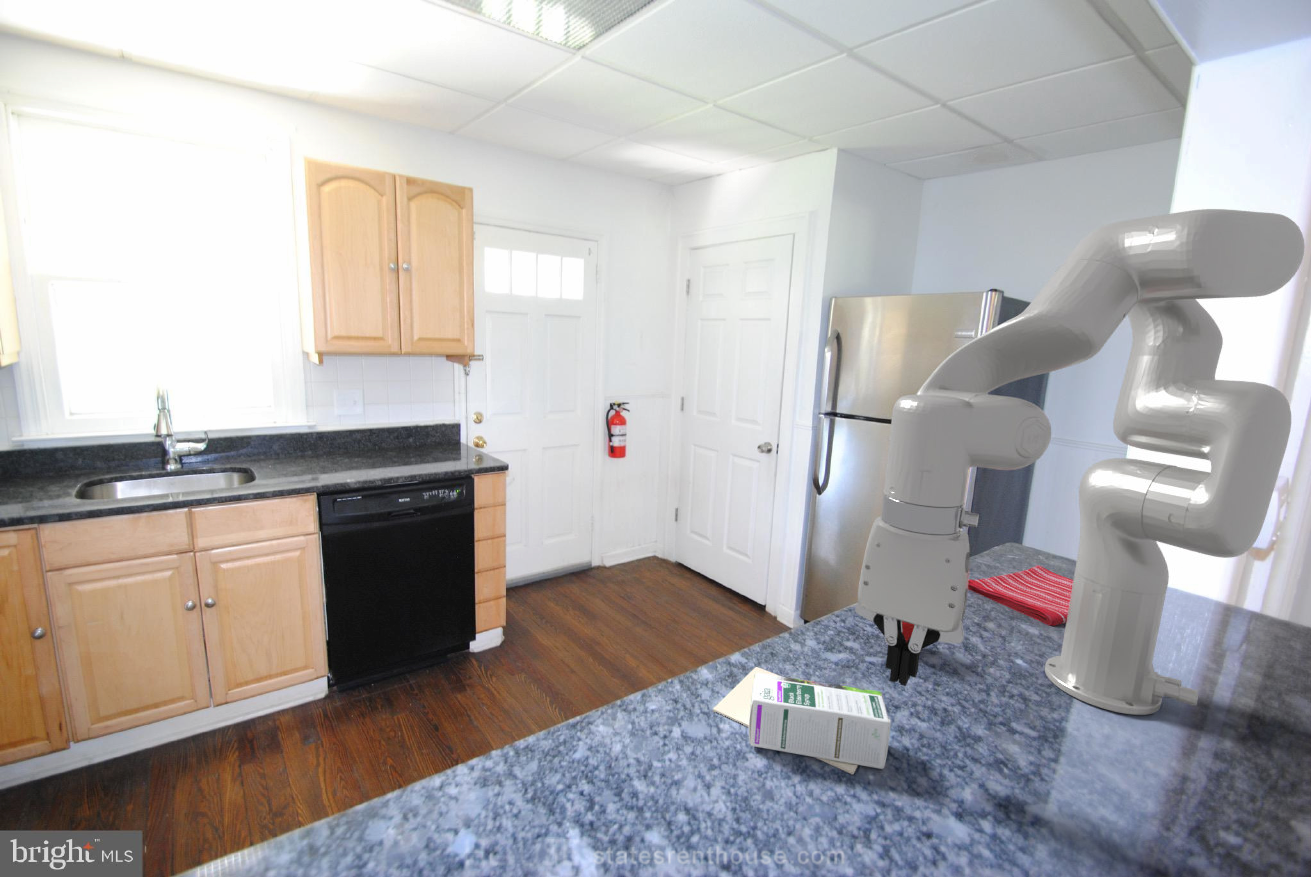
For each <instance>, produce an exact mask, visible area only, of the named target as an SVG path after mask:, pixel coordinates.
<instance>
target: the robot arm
mask: <svg viewBox="0 0 1311 877" xmlns="http://www.w3.org/2000/svg"><path fill="white" fill-rule="evenodd" d="M1303 235H1304V234H1303V233H1302V230H1301V229H1300V227H1299V225H1298V224H1297V223H1296V221H1294V220H1292V219H1291V218H1290V217H1288V216H1286V215H1283V214H1280V213H1274V212H1259V211H1250V210H1241V209H1226V208H1225V209H1224V208H1223V209H1221V208H1205V209H1204V208H1203V209H1193V210H1186V211H1180V212H1172V213H1166V214H1159V215H1154V216H1153V215H1152V216H1147V217H1140V218H1134V219H1128V220H1127V219H1126V220H1122V221H1117V222H1112V223H1109V224H1106V225H1103V226H1100V227H1098V228H1096V229H1093V230H1092V231H1091V232H1089V233H1088V234H1087V235H1086V236H1084V237H1083V238H1082V239H1081V240H1080V241H1079V242H1078V244H1077V245H1076V246H1075V247H1074V249H1073V250H1072V251H1071V252H1070V253H1069V255H1068V256H1067V258H1065V260H1063V262H1062V263H1061V265H1060V266H1059V267H1058V269H1057V270H1056V271H1055V272H1054V273H1053V275H1052V276H1051V277H1050V278H1049V280H1048V281H1047V282H1046V283H1045V285H1043V287H1042V288H1041V290H1040V291H1039V292H1038V293H1037V294H1036V296H1035V297H1034V298H1033V300H1032V301H1031V302H1030V304H1029V305H1028V306H1027V307H1026V308H1025V309H1024V310H1023V311H1022V312H1021V313H1020V314H1018V315H1017V316H1014V317H1012V318H1010V319H1008V320H1006V321H1004V322H1002V323H1001V324H999V325H997V326H995V327H993V328H991V329H990V330H988V331H986V332H985V333H982V334H981V335H980V336H978V337H975V338H974V339H972V340H971V341H969V342H967V343H965V344H964V345H963V346H961V347H960V348H958V349H956V350H955V351H954V352H952V353H951V354H949V355H948V356H947V358H945V359H944V360H943V361H942V362H941V363H940V364H939V365H938V366H937V367H936V369H934V370H933V372H932V373H931V375H929V376H928V378H927V380H925V382H924V383H923V384H922V386H921V387H920V388H919V389H918V390H917V392H916V393H915V394H906V395H903V396H900V397H899V398H898V399H897V400H896V401H895V403H894V406H893V409H892V415H891V421H890V422H891V423H890V424H891V425H890V431H889V440H888V442H889V443H888V451H887V460H886V468H885V477H884V479H885V480H884V484H883V486H884V487H883V494H882V504H881V513H880V516H877V517H876V518H875V519H874V522H873V524H872V526H871V529H870V532H869V536H868V539H867V543H866V547H865V551H864V556H863V559H862V560H863V561H862V566H861V571H860V576H859V583H858V587H857V588H858V590H857V599H858V600H857V603H856V605H855V609H854V611H855V613H856V614H857V615H858V616H861V617H862V618H864V619H866V620H868V621H870V622H873V624H874V625H875V626H876V627H877V629H878V630H879V631H880V633H881V635H882V636H883V637H884V641H885V643H886V644H887V653H886V659H885V668H886V669H888V670H890V674H889V682H892V683H899V684H900V686H903V687H906V686H907V684H908V682H909V680H910V678H911V677H912V678H916V677H917V676H918V675H917V674H918V671H919V665H920V655H921V650H923V649H925V648H927V647H929V646H932V645H934V644H935V643H938V642H941V643H945V644H946V643H948V644H961V643H963V640H964V638H965V631H964V626H963V619H964V617H965V612H966V609H967V600H968V591H969V589H968V581H969V580H970V563H971V562H970V542H969V541H970V540H969V534H968V533H967V532H966V531H964V530H963V529H964V527H966V528H969V527H972V528H977V527H978V523H979V514H978V513H974V512H971V511H969V510H967V509H968V508H967V507H965V498H966V497H965V494H966V488H967V480H968V472H969V469H970V468H971V467H972V468H973V467H975V468H976V467H977V468H984V469H992V470H996V471H997V470H999V471H1012V470H1013V471H1014V470H1019V469H1023V468H1025V467H1028V466H1029V465H1032V464H1034V463H1035V462H1036V461H1037V460H1039V459H1040V458H1041V457H1042V456H1043V455H1044V454H1045V452H1046V451H1047V449H1048V447H1049V445H1050V442H1051V439H1052V426H1051V422H1050V420H1049V418H1048V416H1047V414H1046V412H1044V411H1043V410H1042V409H1041V408H1040V407H1039V406H1038V405H1037V404H1034V402H1030V401H1028V400H1026V399H1022V398H1019V397H1012V396H1007V395H998V394H989V393H990V392H991V391H994V390H996V389H998V388H1000V387H1002V386H1004V385H1007V384H1009V383H1012V382H1015V381H1018V380H1022V379H1026V378H1030V377H1034V376H1037V375H1043V374H1048V373H1052V372H1056V371H1059V370H1062V369H1066V368H1069V367H1072V366H1075V365H1079V364H1081V363H1083V362H1086V361H1088V360H1090V359H1091V358H1093V357H1095V356H1096V355H1097V354H1098V353H1099V352H1100V351H1101V350H1102V349H1103V347H1104V346H1105V344H1106V343H1107V342H1108V340H1109V339H1110V338H1111V337H1112V335H1113V334H1114V333H1115V331H1116V330H1117V328H1118V327H1119V326H1120V324H1121V323H1122V322H1123V321H1124V319H1126V317H1128V319H1129V323H1130V326H1131V331H1132V341H1131V342H1132V343H1131V344H1132V345H1131V348H1130V352H1129V357H1128V361H1127V365H1126V369H1125V373H1124V377H1123V378H1122V379H1123V380H1122V384H1121V386H1120V390H1119V395H1118V398H1117V402H1116V407H1115V411H1114V415H1113V416H1114V417H1113V421H1112V427H1113V434H1114V435H1115V436H1116V438H1117V439H1118V440H1119V441H1120V442H1122V443H1123V444H1125V445H1127V446H1130V447H1133V448H1136V449H1140V450H1146V451H1151V452H1155V453H1156V452H1157V453H1163V454H1167V455H1168V454H1169V455H1174V456H1180V457H1185V458H1186V457H1187V458H1193V459H1200V460H1205V461H1209V462H1210V465H1211V467H1210V471H1205V470H1204V471H1203V470H1199V469H1193V468H1186V467H1181V466H1177V465H1172V464H1166V463H1160V462H1156V461H1148V460H1142V459H1136V458H1127V457H1121V458H1120V457H1114V458H1105V459H1102V460H1100V461H1098V462H1095V463H1094V464H1092V465H1091V466H1090V467H1088V468H1087V469H1086V471H1085V472H1084V474H1083V476H1082V478H1081V479H1080V482H1079V488H1078V506H1079V507H1078V508H1079V518H1080V519H1079V520H1080V522H1079V523H1080V525H1079V526H1080V528H1079V530H1080V531H1079V543H1078V544H1079V545H1078V551H1077V556H1076V557H1077V558H1076V563H1075V570H1074V573H1073V574H1074V576H1073V579H1072V580H1073V586H1072V592H1071V598H1070V604H1069V610H1068V616H1067V622H1066V623H1065V628H1064V629H1065V630H1064V633H1063V634H1064V635H1063V640H1062V646H1061V647H1062V648H1061V653H1060V655H1056V656H1052V657H1049V658H1048V659H1047V660H1046V662H1045V664H1044V665H1045V666H1044V672H1045V675H1046V677H1047V678H1048V679H1049V681H1050V682H1052V683H1053V684H1054V686H1057V687H1058V688H1059V689H1060V690H1062V691H1063V692H1065V693H1066V694H1068V695H1070V696H1072V697H1074V698H1075V699H1078V700H1080V701H1082V702H1085V703H1087V704H1089V705H1092V706H1094V707H1098V708H1101V709H1104V710H1107V711H1111V712H1115V713H1119V714H1120V713H1121V714H1124V715H1135V716H1145V715H1150V714H1151V715H1152V714H1154V713H1156V712H1158V711H1159V710H1160V709H1161V705H1162V699H1163V698H1164V697H1166V698H1168V699H1173V700H1175V701H1177V702H1181V703H1184V704H1186V705H1191V706H1193V707H1196V706H1197V705H1198V699H1199V691H1198V690H1197V689H1193V688H1189V687H1186V686H1182V680H1181V679H1178V678H1174V677H1170V676H1165V675H1161V674H1159V673H1158V671H1156V670H1155V668H1154V665H1153V661H1154V655H1155V651H1156V645H1157V640H1158V635H1159V630H1160V626H1161V625H1160V624H1161V620H1162V615H1163V610H1164V605H1165V600H1166V594H1167V591H1168V586H1169V578H1170V576H1169V568H1168V564H1167V561H1166V559H1165V556H1164V554H1163V552H1162V550H1161V548H1160V546H1159V544H1158V542H1159V543H1161V544H1166V545H1169V546H1172V547H1177V548H1180V549H1183V550H1186V551H1190V552H1195V553H1198V554H1201V555H1206V556H1209V557H1211V556H1212V557H1217V558H1226V559H1228V558H1230V559H1231V558H1236V557H1240V556H1242V555H1244V554H1246V552H1248V551H1249V550H1250V549H1251V548H1252V547H1253V546H1254V545H1255V543H1256V542H1257V541H1258V540H1257V539H1259V536H1260V534H1261V532H1262V529H1263V526H1264V523H1265V520H1266V517H1267V514H1268V511H1269V507H1270V504H1271V500H1272V496H1273V495H1274V494H1273V493H1274V490H1275V486H1276V484H1277V481H1278V477H1279V473H1280V470H1281V467H1282V462H1283V460H1284V456H1285V453H1286V450H1287V447H1288V442H1289V438H1290V433H1291V428H1292V411H1291V406H1290V402H1289V400H1288V399H1287V397H1286V395H1284V394H1283V393H1282V391H1280V390H1279V389H1277V388H1275V387H1274V386H1271V385H1268V384H1265V383H1261V382H1256V381H1255V382H1254V381H1245V380H1243V381H1242V380H1228V379H1227V380H1226V379H1216V372H1217V367H1218V364H1219V360H1220V357H1221V356H1220V355H1221V354H1222V349H1223V344H1224V343H1223V335H1222V332H1221V330H1220V327H1219V326H1218V324H1217V322H1216V321H1215V319H1214V318H1213V317H1212V316H1211V315H1210V313H1209V312H1208V311H1207V310H1206V309H1205V308H1204V307H1203V306H1202V304H1201V303H1200V302H1199V301H1197V300H1208V299H1230V298H1231V299H1233V298H1257V297H1263V296H1268V295H1269V294H1272V293H1275V292H1277V291H1279V290H1280V289H1282V288H1283V287H1284V286H1285V285H1287V284H1288V283H1289V282H1290V281H1291V280H1292V279H1293V278H1294V277H1295V275H1296V273H1297V272H1298V271H1299V269H1300V267H1301V264H1302V262H1303V259H1304V254H1305V239H1304V236H1303ZM902 621H903V622H907V623H910V624H914V625H915V626H914V629H913V632H912V635H911V637H909V639H908V641H907V643H906V640H905V637H904V635H903V633H902Z"/></svg>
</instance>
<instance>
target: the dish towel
mask: <svg viewBox="0 0 1311 877" xmlns="http://www.w3.org/2000/svg"><path fill="white" fill-rule="evenodd" d="M1073 580H1074V579H1072V578H1069V577H1066V576H1062V575H1060V574H1057V573H1055V572H1053V571H1051V570H1049V569H1047V568H1045V567H1043V566H1041V565H1038V564H1037V565H1035V566H1032V567H1030V568H1029V569H1025V570H1023V571H1022V570H1021V571H1016V572H1013V573H1008V574H1007V573H1006V574H1001V575H997V576H991V577H987V578H979V579H969V581H968V591H971V592H973V593H975V594H978V595H981V596H982V597H985V598H987V599H989V600H992V601H993V602H996V603H998V604H1000V605H1002V606H1005V607H1008V608H1009V609H1011V610H1014V611H1016V612H1018V613H1020V614H1023V615H1025V616H1027V617H1030V618H1031V619H1035V621H1038V622H1041V623H1043V624H1045V625H1048V626H1051V627H1053V626H1054V627H1055V626H1058V625H1062V624H1063V625H1064V624H1066V622H1067V616H1068V610H1069V604H1070V598H1071V592H1072V586H1073Z"/></svg>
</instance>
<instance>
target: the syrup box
mask: <svg viewBox="0 0 1311 877" xmlns="http://www.w3.org/2000/svg"><path fill="white" fill-rule="evenodd" d="M891 722H892V721H891V719H890V718H889V715H888V711H887V708H886V704H885V701H884V696H883V693H882V692H881V691H879V690H874V689H873V690H872V689H865V688H860V687H859V688H858V687H854V686H848V685H847V686H846V685H840V684H839V685H838V684H832V683H826V682H821V681H813V680H807V679H801V678H800V679H799V678H794V677H787V676H781V675H779V676H775V675H768V674H762V673H755V676H754V682H753V688H752V698H751V707H750V717H749V727H748V737H749V738H748V739H749V745H750V746H751V747H757V748H763V749H766V750H773V751H777V752H778V751H779V752H783V753H791V754H795V755H801V756H808V757H812V758H815V757H817V758H823V759H828V760H834V761H840V762H845V763H851V764H856V765H858V766H862V767H863V766H864V767H867V768H874V769H881V770H883V769H884V768H885V766H886V761H887V756H888V752H889V751H888V750H889V742H890V734H891V726H892V723H891ZM817 758H816V759H817Z"/></svg>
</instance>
